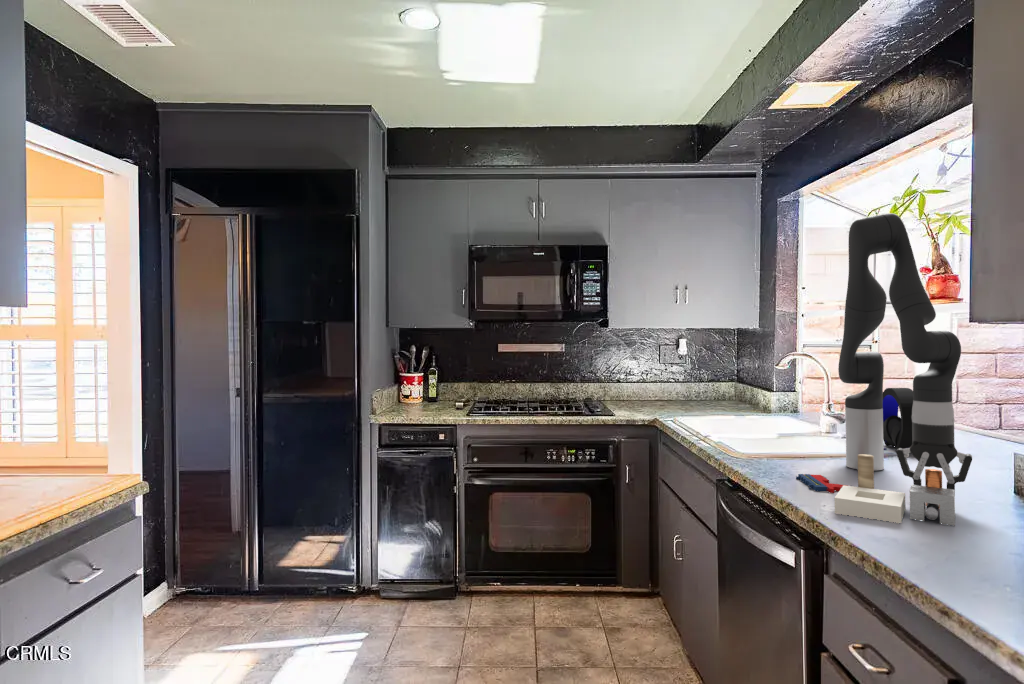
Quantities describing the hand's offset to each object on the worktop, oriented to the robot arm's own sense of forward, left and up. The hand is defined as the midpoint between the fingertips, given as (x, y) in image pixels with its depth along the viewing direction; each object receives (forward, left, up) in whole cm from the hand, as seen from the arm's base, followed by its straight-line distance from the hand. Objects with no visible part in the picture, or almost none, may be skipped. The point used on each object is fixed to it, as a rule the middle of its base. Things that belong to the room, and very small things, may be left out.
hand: (933, 497), depth 127 cm
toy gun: (-8, -23, -3) cm, 25 cm away
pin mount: (+9, 0, -2) cm, 9 cm away
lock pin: (+6, 0, -2) cm, 7 cm away
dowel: (-1, -13, -2) cm, 13 cm away
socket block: (+10, -11, -2) cm, 15 cm away
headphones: (-67, -11, -3) cm, 68 cm away
